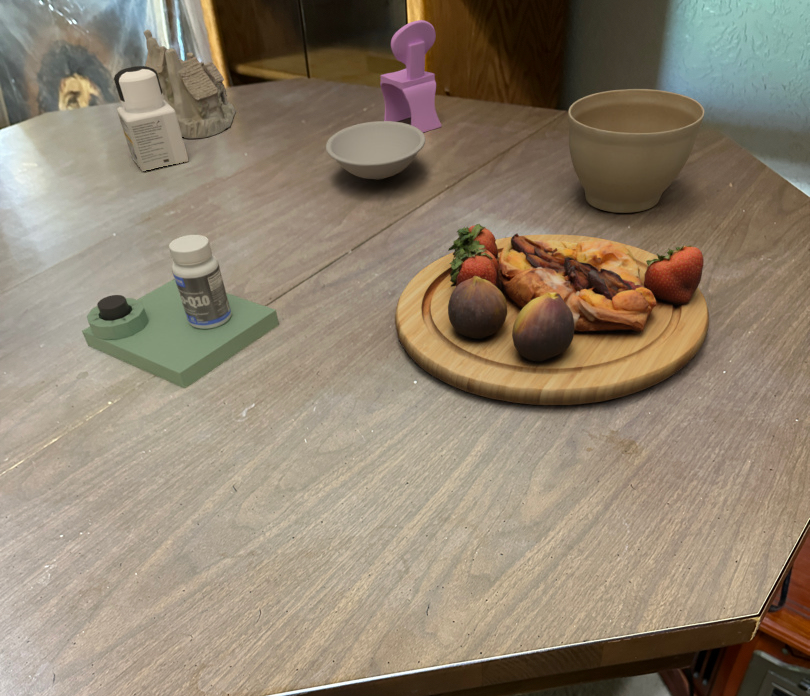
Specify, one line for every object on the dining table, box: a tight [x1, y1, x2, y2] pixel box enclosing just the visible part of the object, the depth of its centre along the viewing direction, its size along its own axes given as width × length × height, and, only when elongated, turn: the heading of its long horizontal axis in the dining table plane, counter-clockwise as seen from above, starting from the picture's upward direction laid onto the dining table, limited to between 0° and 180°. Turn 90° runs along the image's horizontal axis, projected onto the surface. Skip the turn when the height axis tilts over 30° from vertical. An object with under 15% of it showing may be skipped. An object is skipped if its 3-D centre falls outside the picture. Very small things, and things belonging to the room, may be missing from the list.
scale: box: [81, 278, 280, 389], centre depth 78 cm, size 16×14×4 cm
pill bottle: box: [168, 234, 231, 329], centre depth 75 cm, size 5×5×8 cm
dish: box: [325, 120, 426, 180], centre depth 105 cm, size 18×14×5 cm
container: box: [113, 65, 189, 172], centre depth 114 cm, size 8×8×13 cm
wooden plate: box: [394, 223, 710, 406], centre depth 73 cm, size 32×32×8 cm
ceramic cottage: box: [143, 29, 237, 140], centre depth 127 cm, size 16×16×15 cm
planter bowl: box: [567, 88, 705, 214], centre depth 92 cm, size 16×16×11 cm
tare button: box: [96, 294, 131, 321], centre depth 77 cm, size 3×3×2 cm
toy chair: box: [379, 19, 442, 133], centre depth 117 cm, size 8×9×15 cm
